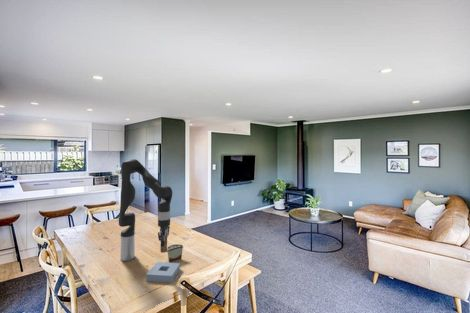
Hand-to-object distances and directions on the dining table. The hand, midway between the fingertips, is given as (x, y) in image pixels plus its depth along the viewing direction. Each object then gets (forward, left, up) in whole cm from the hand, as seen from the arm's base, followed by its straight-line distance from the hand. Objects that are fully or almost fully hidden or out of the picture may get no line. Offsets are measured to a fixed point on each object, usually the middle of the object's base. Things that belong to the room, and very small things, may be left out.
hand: (163, 244), depth 148 cm
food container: (-21, -1, -20) cm, 29 cm away
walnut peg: (0, 0, -4) cm, 4 cm away
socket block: (0, 0, -19) cm, 19 cm away
